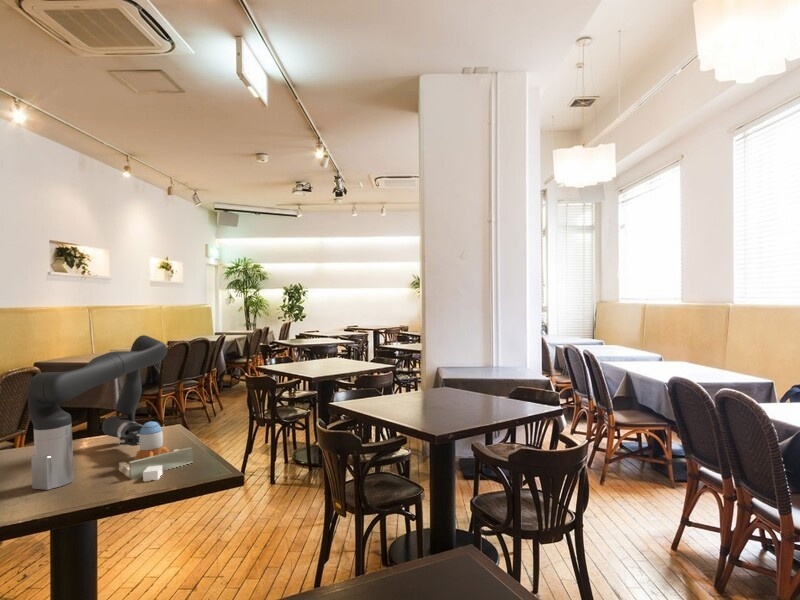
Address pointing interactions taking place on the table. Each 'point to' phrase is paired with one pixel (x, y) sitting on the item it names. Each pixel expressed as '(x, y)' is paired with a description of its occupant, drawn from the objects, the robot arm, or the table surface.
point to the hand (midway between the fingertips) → (147, 441)
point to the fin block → (152, 473)
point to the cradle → (157, 462)
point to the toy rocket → (150, 441)
